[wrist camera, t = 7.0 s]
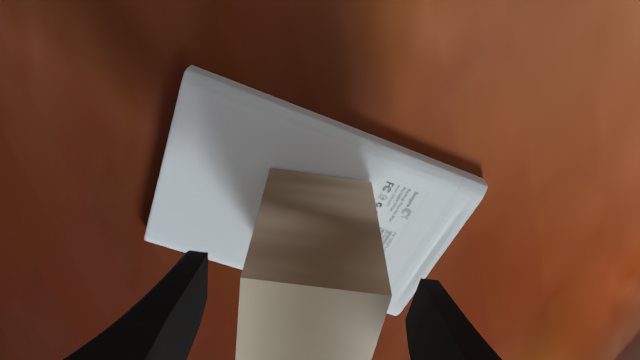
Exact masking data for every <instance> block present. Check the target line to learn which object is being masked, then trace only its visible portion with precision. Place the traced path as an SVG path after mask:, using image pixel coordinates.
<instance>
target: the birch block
mask: <svg viewBox="0 0 640 360" xmlns="http://www.w3.org/2000/svg"><path fill="white" fill-rule="evenodd" d="M391 298H392V293H391V287H390V282H389V276H388V271H387V265H386V259H385V254H384V248H383V243H382V237H381V232H380V226H379V221H378V215H377V210H376V204H375V199H374V193H373V187H372V182H370V181H363V180H355V179H348V178H341V177H333V176H326V175H319V174H311V173H304V172H297V171H289V170H282V169H275V168H270V170H269V173H268V177H267V181H266V185H265V188H264V192H263V196H262V200H261V203H260V207H259V211H258V215H257V218H256V222H255V226H254V229H253V233H252V237H251V241H250V244H249V248H248V252H247V256H246V259H245V263H244V267H243V271H242V274H241V280H240V296H239V312H238V328H237V343H236V359H235V360H371V359H372V356H373V353H374V350H375V347H376V344H377V341H378V338H379V335H380V332H381V328H382V325H383V322H384V319H385V316H386V313H387V310H388V307H389V304H390V301H391Z"/></svg>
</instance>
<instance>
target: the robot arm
mask: <svg viewBox="0 0 640 360" xmlns="http://www.w3.org/2000/svg"><path fill="white" fill-rule="evenodd" d="M207 284H208V253H207V252H199V251H191V250H189V251H188V252H186V253H185V254H184V256H183V257H182V258H181V259H180V260H179V261H178V262H177V264H176V265H175V266H174V267H173V268H172V269H171V270H170V271H169V272H168V273H167V274H166V275H165V276H164V277H163V279H162V280H161V281H160V282H159V283H158V284H157V285H156V286H154V287H153V288H152V289H151V290H150V291H149V292H148V293H147V294H146V295H145V296H144V297H143V298H142V299H141V300H140V301H139V302H138V303H137V304H135V305H134V306H133V307H132V308H131V309H130V310H129V311H128V312H126V313H125V314H124V315H123V316H122V317H121V318H119V319H118V320H117V321H116V322H115V323H113V324H112V325H111V326H110V327H108V328H107V329H106V330H104V331H103V332H102V333H100V334H99V335H98V336H96V337H95V338H94V339H92V340H91V341H89V342H88V343H87V344H85V345H84V346H82V347H81V348H80V349H78V350H77V351H75V352H74V353H72V354H71V355H69V356H68V357H66V358H65V359H63V360H186V359H187V357H188V354H189V352H190V349H191V347H192V344H193V341H194V339H195V336H196V334H197V331H198V329H199V326H200V323H201V319H202V315H203V312H204V308H205V304H206V300H207ZM406 331H407V340H408V348H409V353H410V358H411V360H502V359H501V358H500V357H499V356H498V355H497V354H496V352H495V351H494V350H493V349H492V348H491V347H490V346H489V345H488V343H487V342H486V341H485V340H484V339H483V338H482V336H481V335H480V334H479V333H478V332H477V330H476V329H475V328H474V327H473V325H472V324H471V323H470V322H469V320H468V319H467V318H466V317H465V315H464V314H463V313H462V311H461V310H460V309H459V307H458V306H457V305H456V303H455V302H454V301H453V300H452V298H451V297H450V295H449V294H448V293H447V291H446V290H445V289H444V287H443V286H442V285H441V284H440V282H439V281H438V280H430V279H422V278H421V279H420V282H419V284H418V287H417V290H416V292H415V295H414V298H413V301H412V303H411V306H410V309H409V312H408V314H407V317H406Z"/></svg>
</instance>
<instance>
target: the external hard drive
mask: <svg viewBox="0 0 640 360" xmlns="http://www.w3.org/2000/svg"><path fill="white" fill-rule="evenodd" d="M270 168H275V169H282V170H289V171H297V172H304V173H311V174H319V175H326V176H333V177H341V178H348V179H355V180H363V181H370V182H372V187H373V193H374V199H375V204H376V210H377V215H378V221H379V226H380V232H381V237H382V243H383V248H384V254H385V259H386V265H387V271H388V276H389V282H390V287H391V293H392V298H391V301H390V304H389V307H388V310H387V313H388V314H391V315H394V316H397V315H398V314H400V313H401V311H402V310H403V309H404V307H405V306H406V304H407V303H408V302H409V300H410V299H411V298H412V296H413V295H414V293H415V292H416V290H417V287H418V284H419V282H420V279H421V278H422V279H425V278H426V276H427V275H428V273H429V272H430V271H431V269H432V268H433V266H434V265H435V264H436V262H437V261H438V260H439V258H440V257H441V255H442V254H443V253H444V251H445V250H446V248H447V247H448V246H449V245H450V243H451V242H452V240H453V239H454V237H455V236H456V235H457V233H458V232H459V231H460V229H461V228H462V226H463V225H464V223H465V222H466V221H467V219H468V218H469V217H470V215H471V214H472V213H473V211H474V210H475V208H476V207H477V206H478V204H479V203H480V202H481V200H482V198H483V197H484V195H485V192H486V190H487V187H488V185H487V184H486V183H485V181H484V179H483V178H481V177H478V176H476V175H473V174H471V173H468V172H466V171H463V170H461V169H458V168H456V167H453V166H451V165H448V164H445V163H443V162H440V161H438V160H435V159H433V158H430V157H428V156H425V155H423V154H420V153H417V152H415V151H412V150H410V149H407V148H405V147H402V146H400V145H397V144H395V143H392V142H389V141H387V140H384V139H382V138H379V137H377V136H374V135H372V134H369V133H366V132H364V131H361V130H359V129H356V128H354V127H351V126H348V125H346V124H343V123H341V122H338V121H335V120H333V119H330V118H328V117H325V116H323V115H320V114H318V113H315V112H312V111H310V110H307V109H305V108H302V107H300V106H297V105H294V104H292V103H289V102H287V101H284V100H282V99H279V98H276V97H274V96H271V95H269V94H266V93H264V92H261V91H258V90H256V89H253V88H251V87H248V86H245V85H243V84H240V83H238V82H235V81H233V80H230V79H228V78H225V77H222V76H220V75H217V74H214V73H212V72H209V71H207V70H204V69H201V68H199V67H196V66H194V65H190V66H189V67H188V68H186V70H185V72H184V75H183V78H182V81H181V85H180V89H179V93H178V98H177V102H176V106H175V110H174V115H173V119H172V123H171V127H170V131H169V136H168V140H167V144H166V148H165V152H164V157H163V161H162V165H161V169H160V174H159V178H158V181H157V186H156V190H155V194H154V199H153V202H152V207H151V211H150V215H149V219H148V224H147V227H146V234H145V238H144V240H146V241H148V242H151V243H155V244H158V245H161V246H165V247H168V248H171V249H174V250H178V251H181V252H184V253H186V252H188V251H189V250H191V251H199V252H207V253H208V260H211V261H215V262H218V263H221V264H225V265H228V266H231V267H235V268H238V269H241V270H243V267H244V263H245V259H246V256H247V252H248V248H249V244H250V241H251V237H252V233H253V229H254V226H255V222H256V218H257V215H258V211H259V207H260V203H261V200H262V196H263V192H264V188H265V185H266V181H267V177H268V173H269V170H270Z"/></svg>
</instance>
